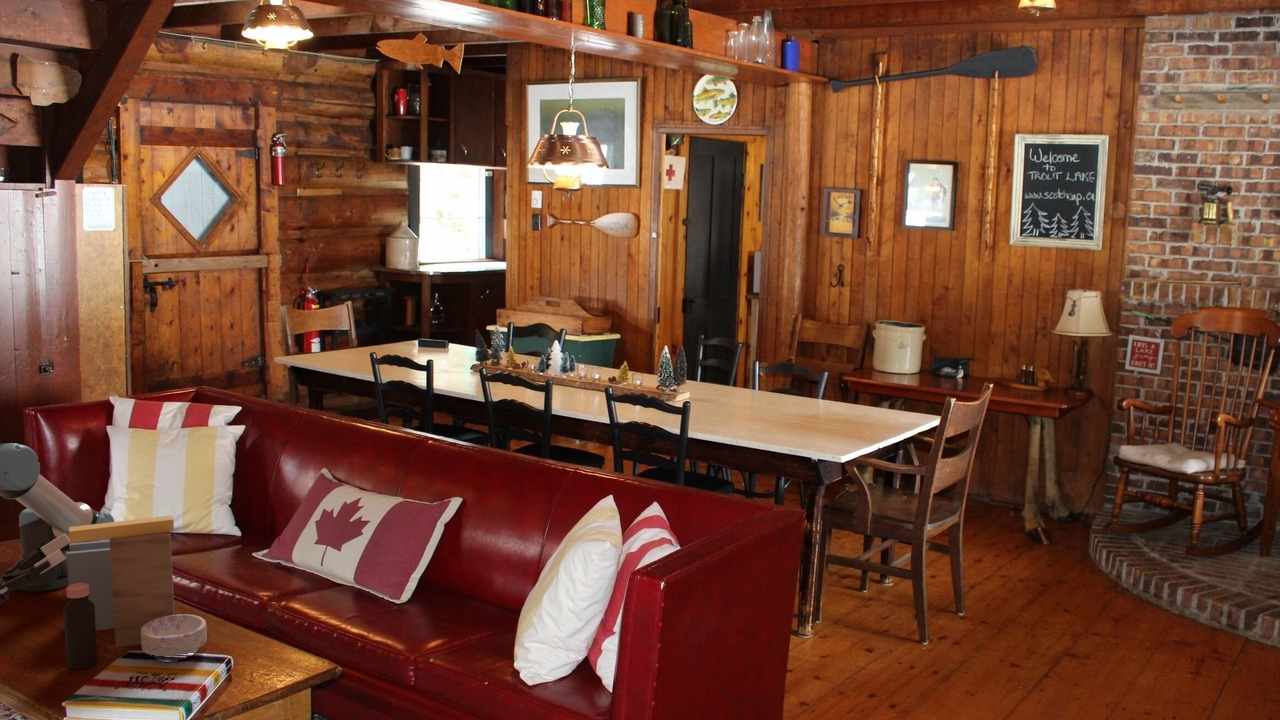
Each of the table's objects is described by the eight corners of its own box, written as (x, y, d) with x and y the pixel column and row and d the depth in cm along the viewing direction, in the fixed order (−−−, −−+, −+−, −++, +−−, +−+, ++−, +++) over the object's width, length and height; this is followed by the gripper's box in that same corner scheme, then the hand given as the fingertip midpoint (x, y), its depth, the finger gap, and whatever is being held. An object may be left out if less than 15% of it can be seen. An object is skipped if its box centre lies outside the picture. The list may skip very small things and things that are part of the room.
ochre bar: (69, 538, 294) (68, 527, 294) (172, 526, 305) (171, 515, 305) (70, 543, 290) (69, 531, 290) (173, 530, 302) (173, 519, 301)
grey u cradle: (74, 621, 314) (69, 543, 311) (139, 613, 320) (135, 537, 317) (72, 633, 306) (66, 553, 302) (138, 625, 312) (134, 547, 308)
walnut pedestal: (117, 635, 305) (111, 531, 300) (175, 628, 310) (170, 526, 305) (115, 647, 297) (109, 540, 293) (175, 640, 302) (169, 535, 298)
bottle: (102, 664, 287) (97, 586, 284) (73, 673, 282) (68, 593, 279) (91, 656, 291) (86, 579, 288) (62, 664, 286) (57, 586, 283)
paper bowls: (170, 672, 283) (168, 641, 282) (128, 659, 290) (126, 628, 289) (220, 651, 296) (219, 621, 295) (179, 638, 303) (178, 609, 302)
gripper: (2, 590, 301) (78, 542, 305) (-14, 625, 278) (69, 573, 282) (-17, 567, 298) (60, 520, 303) (-34, 601, 275) (50, 549, 280)
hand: (65, 545), depth 293 cm, fingers open, 13 cm apart
